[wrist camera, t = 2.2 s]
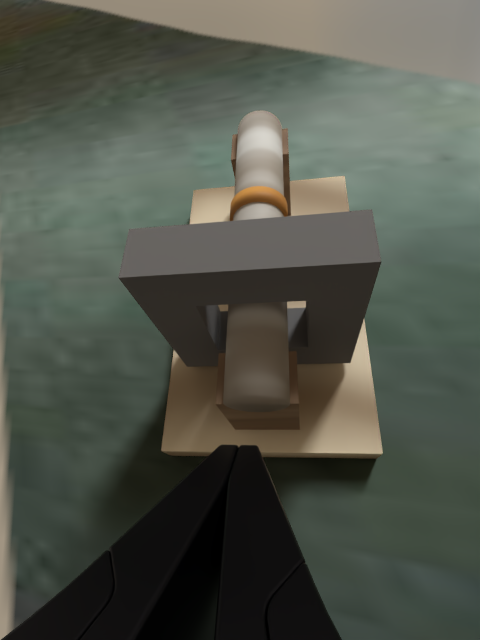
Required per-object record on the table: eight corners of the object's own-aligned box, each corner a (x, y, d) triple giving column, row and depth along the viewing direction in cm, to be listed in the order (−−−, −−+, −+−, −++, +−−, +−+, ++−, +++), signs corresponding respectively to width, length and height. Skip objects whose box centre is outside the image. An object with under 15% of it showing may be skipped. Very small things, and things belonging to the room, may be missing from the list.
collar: (350, 363, 18) (381, 261, 11) (187, 366, 19) (118, 277, 12) (346, 325, 19) (372, 209, 12) (190, 331, 20) (129, 229, 13)
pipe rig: (376, 458, 17) (419, 424, 11) (170, 455, 19) (102, 423, 12) (342, 193, 25) (355, 83, 19) (199, 206, 27) (166, 107, 20)
